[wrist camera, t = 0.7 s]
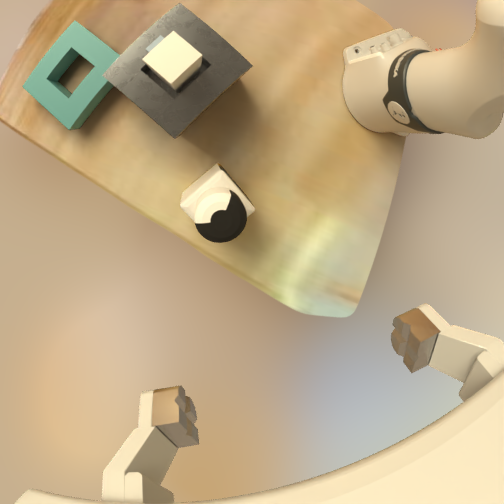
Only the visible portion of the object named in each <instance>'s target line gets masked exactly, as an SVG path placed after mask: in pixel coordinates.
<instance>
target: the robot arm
mask: <svg viewBox="0 0 504 504" xmlns="http://www.w3.org/2000/svg"><path fill="white" fill-rule="evenodd" d="M475 13H476V27H475V31H474V33H473V35H472V37H471V39H470V40H469V41H468V42H467V43H465V44H464V45H462V46H459V47H455V48H450V49H444V50H442V49H441V48H440V50H437V49H436V51H433V50H432V49H431V47H430V46H429V45H428V44H427V43H426V42H425V41H424V40H423V39H421V38H419V37H413V36H412V35H410V34H409V33H408V32H407V31H405V30H404V29H401V28H400V29H394V30H391V31H388V32H386V33H383V34H380V35H377V36H374V37H372V38H369V39H366V40H364V41H361V42H359V43H356V44H354V45H351V46H349V47H347V48H345V49H344V51H343V57H344V62H345V72H344V77H343V94H344V98H345V102H346V104H347V107H348V109H349V110H350V112H351V114H352V115H353V117H354V118H355V119H356V120H357V121H358V122H359V123H360V124H361V125H362V126H364V127H365V128H367V129H369V130H371V131H374V132H380V133H384V132H393V133H395V134H397V135H399V136H408V135H409V134H410V133H429V134H441V133H451V134H455V135H460V136H465V137H470V138H473V139H481V138H484V137H487V136H488V135H490V134H491V133H493V132H494V131H495V130H496V129H497V128H498V126H499V125H500V123H501V120H502V117H503V113H504V0H477V4H476V11H475ZM355 50H356V51H357V53H356V52H355ZM393 326H394V327H395V329H394V330H393V332H392V334H391V341H392V346H393V348H394V350H395V351H396V353H397V354H398V355H401V356H403V357H404V360H403V362H404V363H405V365H406V366H407V367H408V369H409V370H410V372H411V373H413V372H415V371H417V370H419V369H421V368H423V367H425V366H427V365H429V366H430V367H432V368H435V369H437V370H439V371H441V372H443V373H445V374H447V375H449V376H451V377H453V378H455V379H457V380H459V381H461V382H463V383H464V384H463V386H462V388H461V390H460V392H459V396H460V397H461V399H462V400H463V401H464V402H463V403H461V404H460V405H459V406H457V407H456V408H454V409H453V410H452V411H450V412H448V413H447V414H445V415H444V416H442V417H441V418H439V419H438V420H436V421H435V422H433V423H431V424H430V425H428V426H426V427H425V428H423V429H421V430H420V431H418V432H416V433H414V434H412V435H411V436H409V437H407V438H405V439H403V440H401V441H399V442H398V443H396V444H394V445H392V446H390V447H388V448H386V449H384V450H382V451H379V452H377V453H375V454H373V455H371V456H369V457H367V458H364V459H362V460H359V461H357V462H354V463H352V464H350V465H347V466H345V467H342V468H339V469H337V470H334V471H332V472H328V473H326V474H323V475H320V476H317V477H314V478H311V479H307V480H304V481H301V482H297V483H294V484H290V485H286V486H283V487H279V488H275V489H271V490H266V491H262V492H257V493H252V494H247V495H241V496H235V497H229V498H222V499H215V500H206V501H196V502H182V503H174V497H173V493H172V492H171V491H169V490H167V489H165V488H163V487H162V486H160V484H161V482H162V481H163V478H164V477H165V475H166V472H167V471H168V469H169V467H170V464H171V463H172V461H173V459H174V456H175V455H176V452H177V450H178V448H179V447H186V446H192V445H197V444H199V439H198V429H197V428H196V427H195V426H194V423H195V422H196V420H197V416H196V411H195V407H194V404H193V402H192V400H191V399H190V397H187V396H185V390H184V388H183V387H182V386H175V387H169V388H162V389H156V390H150V391H143V392H142V394H141V397H140V408H139V421H138V428H135V429H134V430H133V431H132V433H131V434H130V436H129V437H128V439H127V440H126V441H125V442H124V444H123V445H122V446H121V448H120V449H119V451H118V452H117V453H116V455H115V456H114V458H113V459H112V460H111V462H110V463H109V464H108V466H107V467H106V468H105V470H104V471H103V485H102V501H97V500H89V499H81V498H75V497H69V496H63V495H58V494H53V493H48V492H44V491H41V490H36V489H29V490H27V491H26V492H25V493H24V494H23V495H22V496H21V497H20V498H19V499H18V500H17V501H16V502H15V503H14V504H504V343H503V342H502V341H501V340H500V339H499V338H496V337H493V336H489V335H486V334H482V333H479V332H476V331H472V330H469V329H466V328H462V327H459V326H455V325H452V326H450V325H449V324H448V323H447V322H446V321H445V320H444V319H443V318H442V317H441V316H440V315H439V314H438V313H437V312H436V311H435V310H434V309H433V308H432V307H431V306H430V305H429V304H426V303H425V304H423V305H421V306H419V307H417V308H414V309H412V310H410V311H408V312H405V313H404V314H401V315H399V316H397V317H395V318H394V320H393Z"/></svg>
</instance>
